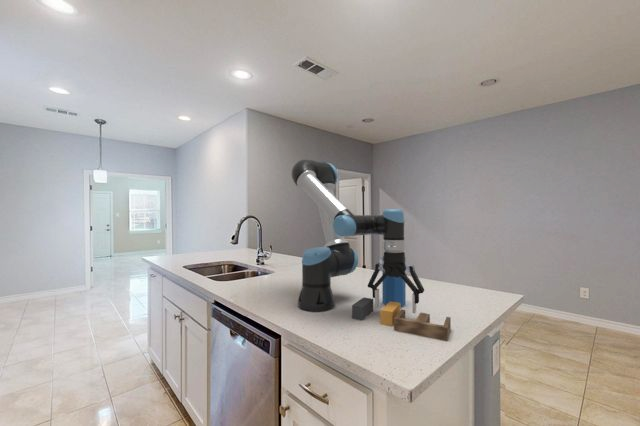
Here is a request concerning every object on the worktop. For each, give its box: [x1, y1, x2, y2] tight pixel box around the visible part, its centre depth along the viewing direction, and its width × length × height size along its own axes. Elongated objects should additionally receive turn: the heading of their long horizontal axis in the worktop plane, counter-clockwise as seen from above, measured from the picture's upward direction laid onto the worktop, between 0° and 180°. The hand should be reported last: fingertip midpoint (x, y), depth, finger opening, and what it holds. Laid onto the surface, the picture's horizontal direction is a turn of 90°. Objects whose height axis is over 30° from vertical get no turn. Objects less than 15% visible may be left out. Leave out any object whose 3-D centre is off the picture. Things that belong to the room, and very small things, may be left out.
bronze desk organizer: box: [393, 309, 452, 342], centre depth 93 cm, size 16×10×4 cm, turn 60°
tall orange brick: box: [380, 302, 402, 327], centre depth 102 cm, size 4×11×5 cm, turn 150°
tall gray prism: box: [351, 297, 374, 321], centre depth 107 cm, size 4×11×5 cm, turn 150°
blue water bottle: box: [381, 255, 407, 308], centre depth 120 cm, size 9×9×25 cm
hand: (395, 309), depth 105 cm, fingers open, 13 cm apart
